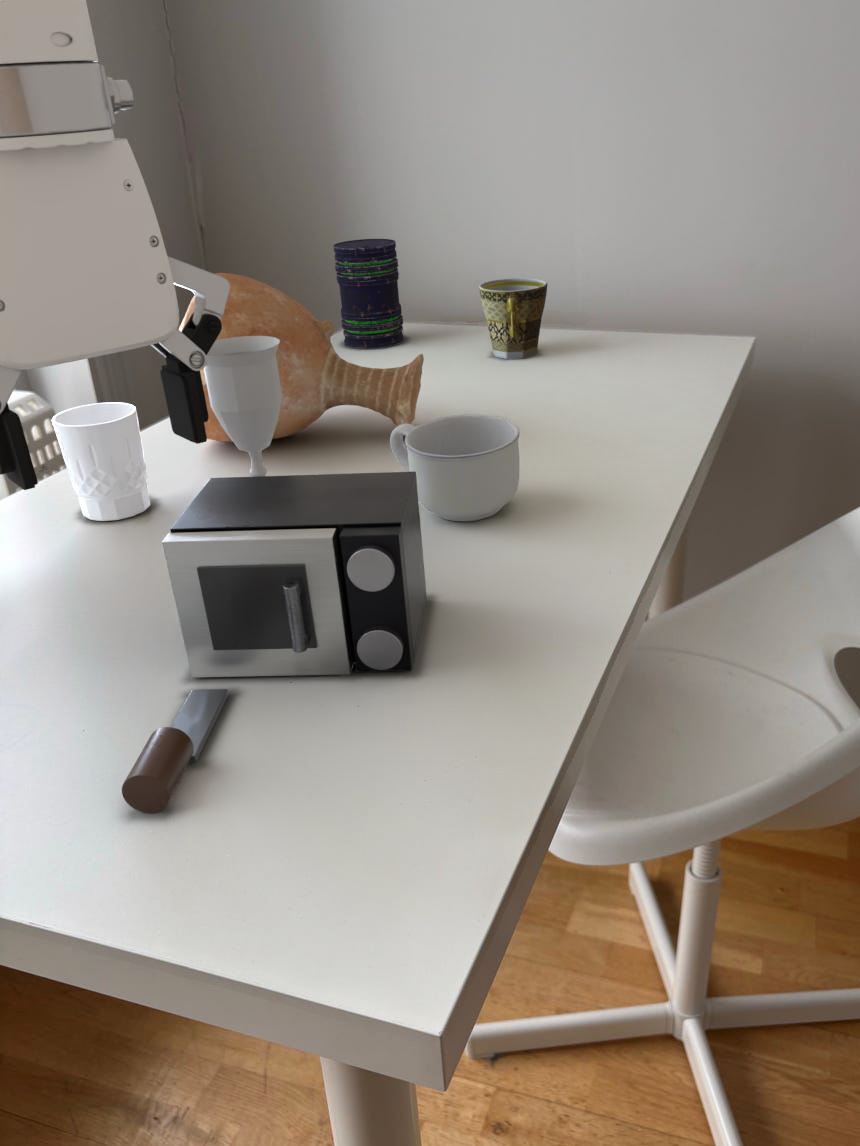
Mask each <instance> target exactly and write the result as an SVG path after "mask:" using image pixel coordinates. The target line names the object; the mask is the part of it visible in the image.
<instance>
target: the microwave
mask: <svg viewBox="0 0 860 1146" xmlns="http://www.w3.org/2000/svg"><path fill="white" fill-rule="evenodd" d="M416 481H417V479H416V472H415V471H413V472H409V471H388V472H387V471H385V472H383V471H381V472H357V473H355V472H354V473H325V474H324V473H323V474H319V473H318V474H295V475H294V474H293V475H290V474H289V475H266V476H256V477H252V476H229V477H228V476H227V477H226V476H225V477H209V479H208V480H207V482H206V483H205V484H204V486H203V487H202V488H201V489H200V491H199V492H198V493H197V494H196V495H195V496H194V498H193V499H192V501H191V502H190V503H189V504H188V505H187V507H186V509H185V510H183V512H182V513H181V515H180V516H179V517H178V519H177V520H176V521H175V522H174V523H173V525H172V526H171V528H170V529H169V530H170V533H183V532H218V531H254V530H289V529H324V528H336V530H337V538H338V546H339V553H340V561H341V569H342V576H343V584H344V592H345V600H346V607H347V615H348V623H349V631H350V638H351V646H352V654H353V662H354V664H355V670H356V672H357V673H361V672H362V673H363V672H365V673H366V672H368V673H369V672H411V671H413V666H414V662H415V659H416V655H417V650H418V645H419V639H420V634H421V630H422V624H423V619H424V616H425V615H424V614H425V610H426V606H427V601H428V599H427V586H426V575H425V574H426V573H425V563H424V551H423V550H424V549H423V539H422V527H421V516H420V502H419V501H418V491H417V482H416Z"/></svg>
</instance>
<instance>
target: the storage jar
mask: <svg viewBox="0 0 860 1146" xmlns="http://www.w3.org/2000/svg"><path fill="white" fill-rule="evenodd" d="M396 248H397V241H396V240H394V239H390V238H362V239H352V240H346V241H340V242H337V243H335V244H333V252H334V261H335V262H334V270H335V272H336V282H337V284H338V285H339V295H340V304H341V308H340V316H341V320H340V321H341V328H342V329H343V330H342V333H343V336H344V340H343V342H344V343H343V344H344V346H345V347H347V348H350V349H357V350H373V349H376V350H377V349H384V348H389V347H394V346H398V345H399V344H402V343H403V342H404V341H405V336H404V334H403V333H404V332H403V331H404V326H403V325H404V317H403V314H402V311H403V310H402V305H401V303H400V294H399V283H398V281H399V279H400V277H399V276H400V272H399V268H398V267H399V260H398V258H397V257H398V254H397V250H396Z"/></svg>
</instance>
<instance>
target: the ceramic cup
mask: <svg viewBox="0 0 860 1146" xmlns="http://www.w3.org/2000/svg"><path fill="white" fill-rule="evenodd" d="M478 290H479V295H480V296H479V297H480V300H481V301H480V302H481V304H482V310H483V313H484V316H485V318H486V323H487V329H488V334H489V339H490V342H491V348H492V353H493V356H494V357H496V358H500V359H504V360H521V359H526V358H530V357H533V356H536V354H537V353H538V347H539V339H540V331H541V326H542V325H541V324H542V319H543V314H544V310H545V304H546V300H547V294H548V293H547V292H548V282H547V281H546V280H543V279H540V278H539V279H538V278H531V277H530V278H529V277H513V278H512V277H511V278H501V279H493V280H490V281H486V282H483V283H481V284H479V285H478Z"/></svg>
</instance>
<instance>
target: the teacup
mask: <svg viewBox="0 0 860 1146" xmlns="http://www.w3.org/2000/svg"><path fill="white" fill-rule="evenodd" d="M403 434H404V435H406V437H405V438H404V441H403V437H404V435H403ZM519 438H520V429H519V427H518V425H517V424H516V423H515V422H513V421H511V420H510V419H507V418H504V417H502V416H497V415H492V414H482V413H463V414H453V415H446V416H441V417H438V418H437V417H436V418H434V419H430V420H428V421H425V422H423V423H421V424H419V425H416V426H415V425H414V424H412V423H411V424H401V425H399V426H396V427H394V429H393V430H392V431H391V433H390V438H389V445H390V448H391V452H392V454H393V456H394V458H395V459H396V461H397V462H398V463H399V464H400V465H401V466H402V467H403V468H404V469H405V470H407V472H413V471H415V472H416V479H417V481H416V482H417V491H418V503H419V504H420V505H421V506H422V507H423V508H425V509H426V510H428V511H429V512H431V513H433V514H434V515H435V516H437V517H438V518H441V519H443V520H446V521H450V522H475V521H480V520H484V519H486V518H490V517H492V516H494V515H495V514H497V513H498V512H500V511H501V510H502V508H504V506H506V505H507V504H508V503H509V502H510V501H511V500H512V499H513V498H514V496H515V495H516V493H517V491H518V488H519V482H520V445H519Z"/></svg>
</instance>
